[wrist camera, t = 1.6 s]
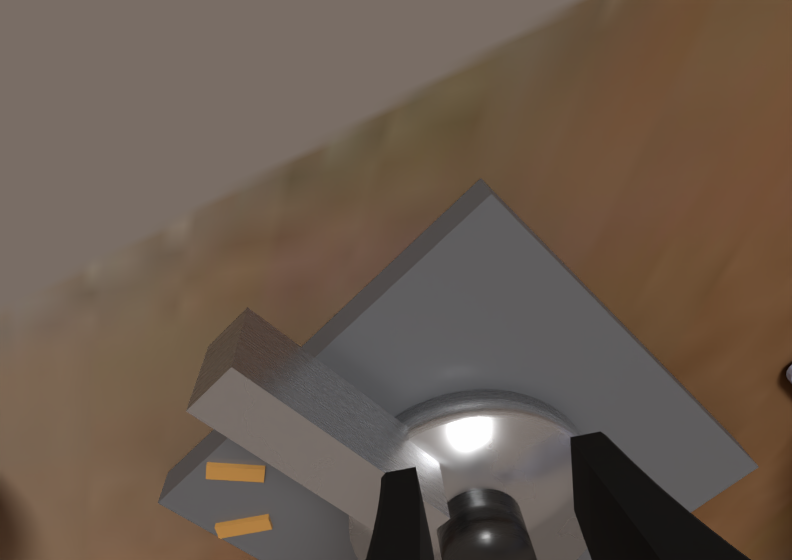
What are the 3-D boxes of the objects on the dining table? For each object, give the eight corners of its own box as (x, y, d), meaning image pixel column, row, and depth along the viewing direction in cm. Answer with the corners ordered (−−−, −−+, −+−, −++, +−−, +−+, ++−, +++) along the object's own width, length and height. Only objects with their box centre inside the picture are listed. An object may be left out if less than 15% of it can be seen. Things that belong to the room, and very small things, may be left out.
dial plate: (736, 440, 25) (762, 470, 24) (427, 653, 30) (432, 689, 28) (481, 178, 19) (492, 196, 18) (144, 494, 24) (131, 530, 22)
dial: (637, 478, 23) (687, 564, 20) (461, 601, 26) (480, 697, 22) (332, 212, 18) (331, 269, 14) (143, 402, 20) (103, 492, 17)
